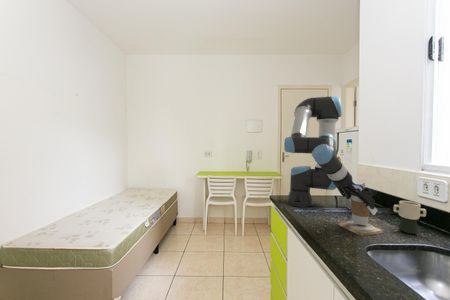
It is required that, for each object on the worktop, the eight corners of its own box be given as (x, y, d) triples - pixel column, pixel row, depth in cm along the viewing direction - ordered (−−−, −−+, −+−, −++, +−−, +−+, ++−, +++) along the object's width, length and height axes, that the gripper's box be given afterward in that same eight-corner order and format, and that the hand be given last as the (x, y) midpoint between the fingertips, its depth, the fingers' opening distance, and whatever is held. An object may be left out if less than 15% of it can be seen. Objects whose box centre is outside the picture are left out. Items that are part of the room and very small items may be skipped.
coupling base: (338, 225, 102) (338, 221, 102) (358, 222, 105) (358, 218, 105) (361, 236, 90) (361, 231, 90) (382, 233, 94) (383, 228, 93)
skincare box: (365, 210, 124) (366, 182, 124) (359, 212, 120) (360, 184, 120) (350, 206, 131) (351, 180, 131) (344, 208, 127) (345, 181, 127)
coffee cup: (369, 220, 100) (370, 188, 99) (372, 227, 92) (374, 192, 91) (348, 217, 103) (349, 186, 102) (349, 224, 95) (351, 190, 95)
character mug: (423, 232, 95) (425, 203, 94) (426, 238, 89) (428, 207, 88) (391, 226, 101) (393, 198, 100) (392, 231, 95) (394, 202, 95)
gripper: (317, 177, 102) (343, 208, 107) (354, 186, 82) (384, 224, 88) (326, 165, 103) (352, 197, 109) (365, 172, 84) (394, 210, 89)
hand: (366, 209), depth 98 cm, fingers closed on coffee cup, 8 cm apart
